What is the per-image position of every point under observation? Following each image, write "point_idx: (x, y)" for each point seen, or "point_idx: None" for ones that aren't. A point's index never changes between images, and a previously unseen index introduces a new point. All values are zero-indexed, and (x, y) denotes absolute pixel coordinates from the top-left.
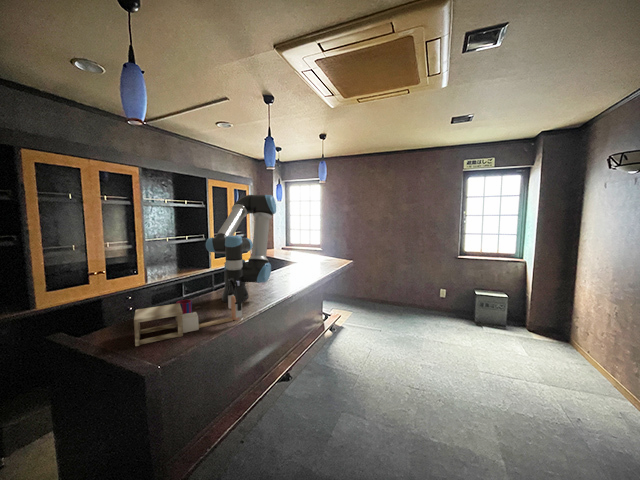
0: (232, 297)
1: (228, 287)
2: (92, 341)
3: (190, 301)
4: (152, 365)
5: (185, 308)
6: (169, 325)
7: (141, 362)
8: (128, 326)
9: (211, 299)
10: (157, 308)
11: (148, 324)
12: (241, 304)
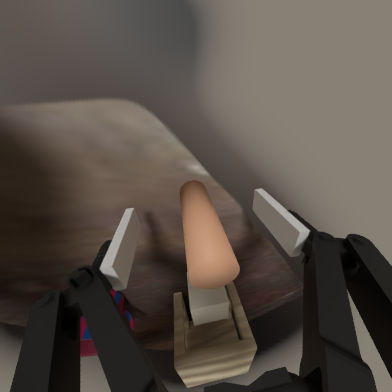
0: (220, 283)
1: (77, 375)
2: None
3: (87, 339)
4: (298, 290)
5: None
6: (184, 308)
7: (281, 299)
8: (146, 338)
9: None
10: (198, 375)
11: (147, 325)
12: (301, 226)
